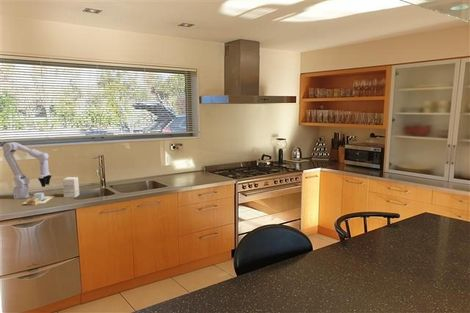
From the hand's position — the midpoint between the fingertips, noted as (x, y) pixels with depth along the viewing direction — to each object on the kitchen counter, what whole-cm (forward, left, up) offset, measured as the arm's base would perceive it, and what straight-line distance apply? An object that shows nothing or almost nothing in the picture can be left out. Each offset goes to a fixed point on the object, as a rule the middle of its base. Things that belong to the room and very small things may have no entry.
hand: (45, 185), depth 261 cm
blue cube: (-2, -10, -9) cm, 13 cm away
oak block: (-2, -21, -9) cm, 23 cm away
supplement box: (+19, 0, -10) cm, 21 cm away
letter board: (-2, -9, -9) cm, 13 cm away
